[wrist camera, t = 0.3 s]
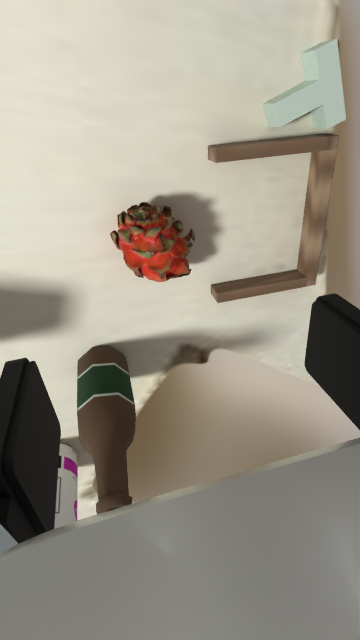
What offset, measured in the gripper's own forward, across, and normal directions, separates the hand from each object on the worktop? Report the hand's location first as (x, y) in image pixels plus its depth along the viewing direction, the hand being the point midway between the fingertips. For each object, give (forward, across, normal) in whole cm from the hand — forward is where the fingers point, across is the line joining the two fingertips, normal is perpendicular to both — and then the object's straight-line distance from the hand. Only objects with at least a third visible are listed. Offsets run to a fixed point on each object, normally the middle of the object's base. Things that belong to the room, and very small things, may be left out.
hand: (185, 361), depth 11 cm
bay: (+35, -19, +7) cm, 40 cm away
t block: (+35, -23, -7) cm, 42 cm away
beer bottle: (+36, +6, +26) cm, 44 cm away
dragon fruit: (+35, -4, +7) cm, 36 cm away
